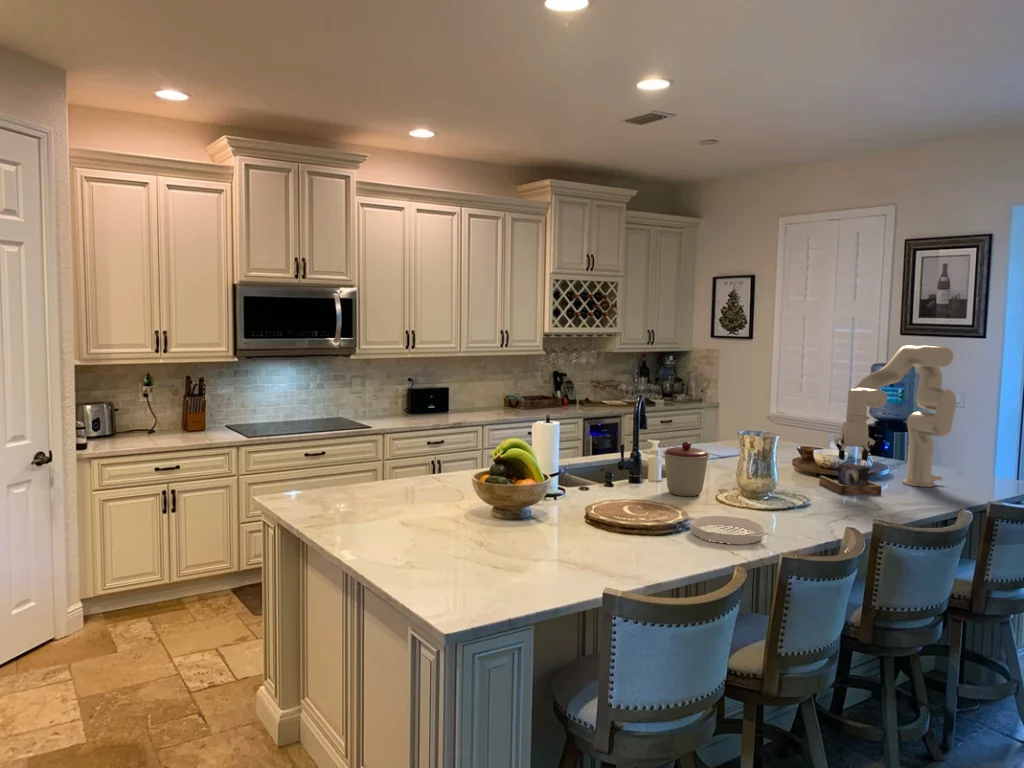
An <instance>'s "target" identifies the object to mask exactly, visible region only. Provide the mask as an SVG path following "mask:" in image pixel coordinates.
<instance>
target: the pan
mask: <svg viewBox="0 0 1024 768" xmlns="http://www.w3.org/2000/svg"><path fill="white" fill-rule="evenodd" d="M686 516H687V517H688V519H689V520H688V521H690V524H691V532H692V534H693V535H694V536H695V535H696V536H698V537H700V538H703V539H706V540H711V541H715V542H722V543H729V544H746V545H750V544H749V543H753V544H756V543H755V542H757V543H759V542H761V540H762V539H763V537H764V536H766V535H768V532H767V531H766V530H765V527H764V526H763V525H762V524H760V523H759V522H757V521H753V520H750V519H749V518H742V517H735V516H729V515H728V516H725V515H707V516H705V515H704V516H700V517H693V516H688V515H686ZM707 525H723V526H733V528H730V529H727V530H724V531H728V530H731V529H734V528H735V527H739V529H741V528H744V529H747V530H751V531H754V532H756V533H754V534H753V533H751V534H745V535H741V534H744V533H741V534H738V535H733V534H734V533H732V534H725V533H724V534H722V533H715V532H707V531H704V530H702V529H700V528H698V527H701V526H707ZM717 527H721V526H717ZM714 528H715V527H714ZM725 528H728V527H724V528H720V529H725ZM739 529H735V530H732V531H729V532H733V531H736V530H739ZM718 530H719V529H718ZM741 531H744V530H741ZM729 532H727V533H729ZM738 532H740V531H738ZM738 532H735V533H738ZM747 532H750V531H747ZM696 536H695V537H696ZM698 537H697V538H698ZM700 538H699V539H700ZM703 539H702V540H703ZM706 540H705V541H706ZM758 541H759V542H758ZM729 544H728V545H729Z"/></svg>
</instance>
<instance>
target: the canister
mask: <svg viewBox="0 0 1024 768" xmlns="http://www.w3.org/2000/svg"><path fill="white" fill-rule="evenodd" d="M662 454H663V455H664V463H665V466H664V467H665V478H666V486H667V489H668V492H669V493H670V494H671V495H674V496H678V495H680V496H679V497H696V495H697V496H699V495H700V494H701V493H702V491H703V488H704V483H705V478H706V472H707V465H708V458H709V457H710V454H709V453H708V452H707V451H706V450H703V449H700V448H696V447H692V444H691V442H689V441H683V442H682V444H681V446H679V447H677V446H676V447H675V446H674V447H669V448H667V449H666V450H664V451H663V452H662Z"/></svg>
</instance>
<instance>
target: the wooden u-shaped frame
mask: <svg viewBox="0 0 1024 768" xmlns="http://www.w3.org/2000/svg"><path fill="white" fill-rule="evenodd" d="M819 485H821V486H824V487H826V488H827V489H830V490H831V489H832V491H834V492H836V493H837V494H840V495H854V494H881V495H882V485H879V484H878V483H875V482H872V481H870V480H868V486H859V485H842V484H840V483H838V481H836V480H833V479H831V478H829V477H827V476H823V475H819Z"/></svg>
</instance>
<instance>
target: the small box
mask: <svg viewBox="0 0 1024 768" xmlns="http://www.w3.org/2000/svg"><path fill="white" fill-rule="evenodd" d="M869 472H870V467H866V466H863V465H859V464H854V463H850V462H847V463H840V464H838V472H837V473H838V475H837V477H838V479H837V482H838V483H840V484H842V485H859V486H868V481H869Z"/></svg>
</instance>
